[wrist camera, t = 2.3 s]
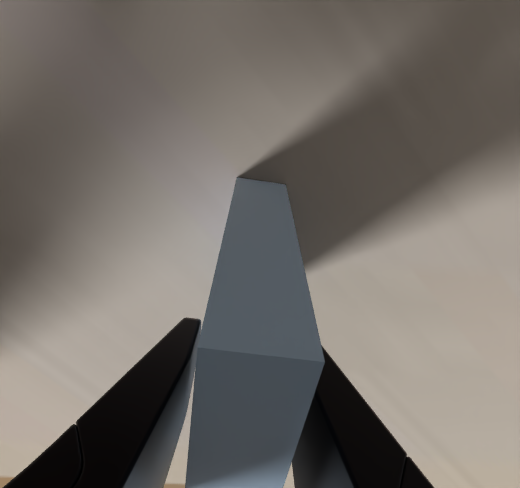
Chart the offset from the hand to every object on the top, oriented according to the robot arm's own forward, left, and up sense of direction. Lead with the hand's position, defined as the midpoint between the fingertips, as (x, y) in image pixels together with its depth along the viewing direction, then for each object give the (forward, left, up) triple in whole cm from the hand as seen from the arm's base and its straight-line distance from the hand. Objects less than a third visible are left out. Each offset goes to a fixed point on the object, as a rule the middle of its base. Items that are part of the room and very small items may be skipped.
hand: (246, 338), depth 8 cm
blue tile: (0, 0, -6) cm, 6 cm away
